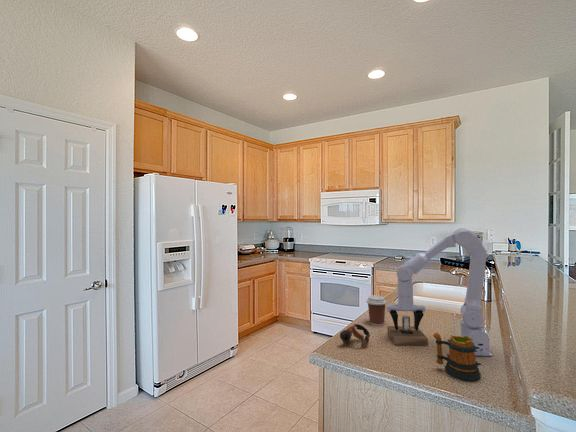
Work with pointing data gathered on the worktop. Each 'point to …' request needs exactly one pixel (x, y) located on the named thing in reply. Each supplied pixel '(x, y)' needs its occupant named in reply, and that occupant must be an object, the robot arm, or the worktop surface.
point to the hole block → (407, 336)
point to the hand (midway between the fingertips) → (406, 329)
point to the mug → (459, 358)
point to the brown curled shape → (355, 334)
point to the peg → (405, 324)
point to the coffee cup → (376, 309)
